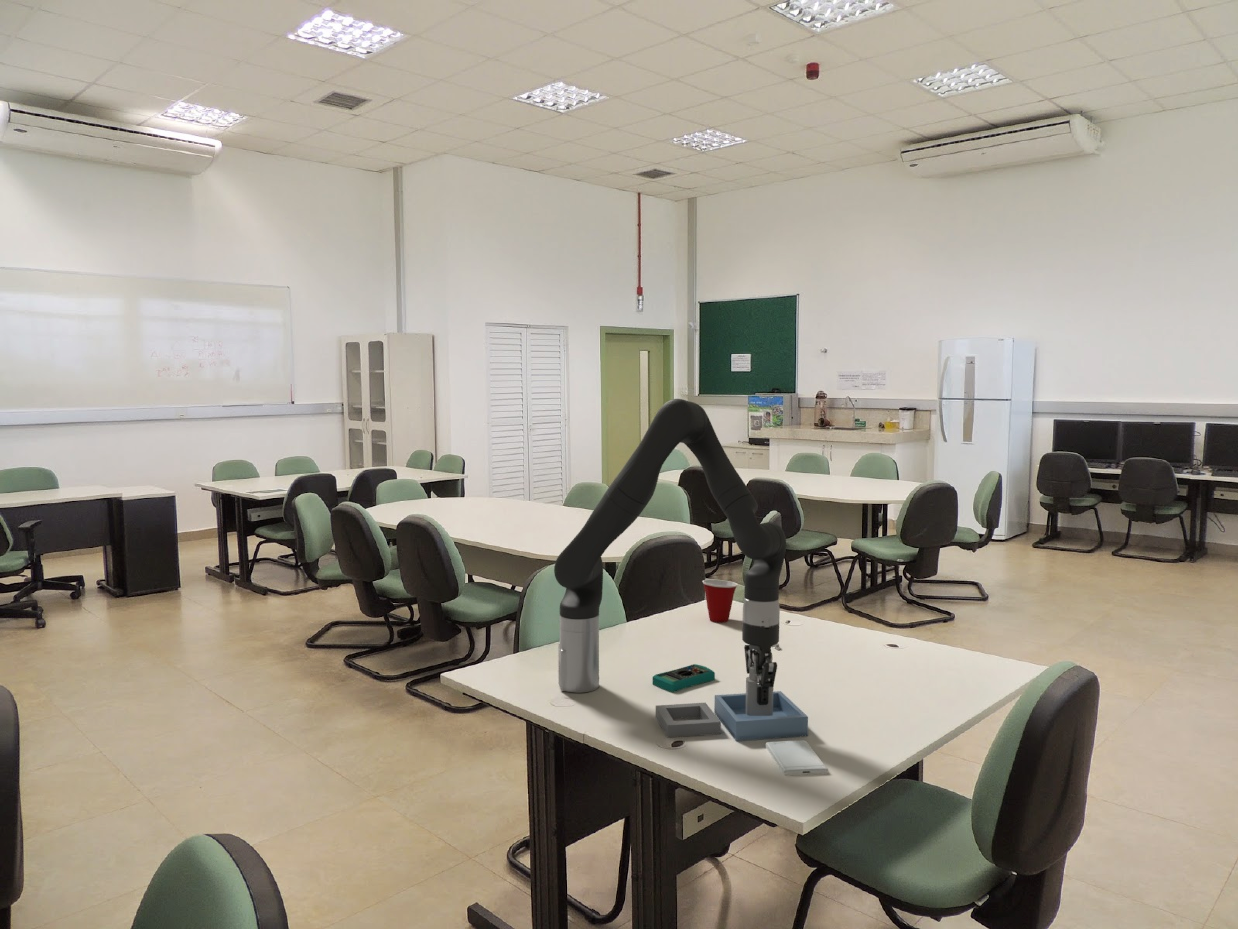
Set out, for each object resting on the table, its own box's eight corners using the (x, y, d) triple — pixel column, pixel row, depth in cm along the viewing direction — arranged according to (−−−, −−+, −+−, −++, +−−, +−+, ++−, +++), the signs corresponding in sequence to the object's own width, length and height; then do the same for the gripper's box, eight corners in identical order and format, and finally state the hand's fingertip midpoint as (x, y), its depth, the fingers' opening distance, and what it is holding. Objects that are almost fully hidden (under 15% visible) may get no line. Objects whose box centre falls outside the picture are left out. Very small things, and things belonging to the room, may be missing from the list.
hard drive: (765, 741, 165) (784, 769, 153) (806, 740, 166) (828, 767, 154) (765, 750, 165) (784, 778, 153) (806, 748, 166) (828, 776, 154)
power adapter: (773, 715, 175) (774, 659, 174) (747, 715, 175) (748, 659, 174) (770, 710, 178) (772, 654, 177) (744, 710, 178) (746, 654, 177)
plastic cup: (744, 621, 257) (745, 582, 256) (716, 626, 252) (717, 586, 251) (722, 613, 266) (722, 576, 265) (694, 618, 261) (695, 580, 260)
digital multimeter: (717, 681, 205) (717, 669, 205) (671, 694, 195) (672, 682, 195) (695, 673, 210) (696, 662, 210) (650, 686, 201) (650, 674, 201)
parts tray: (736, 741, 168) (736, 721, 168) (714, 713, 183) (714, 695, 182) (807, 736, 171) (808, 716, 170) (780, 709, 185) (780, 691, 185)
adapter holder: (667, 737, 170) (667, 725, 169) (655, 717, 180) (655, 705, 180) (720, 733, 172) (720, 721, 171) (705, 713, 182) (705, 702, 182)
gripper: (732, 611, 181) (731, 690, 183) (755, 629, 167) (753, 714, 169) (766, 610, 183) (764, 688, 184) (791, 628, 169) (789, 712, 170)
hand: (759, 700), depth 176 cm, fingers closed on power adapter, 3 cm apart
